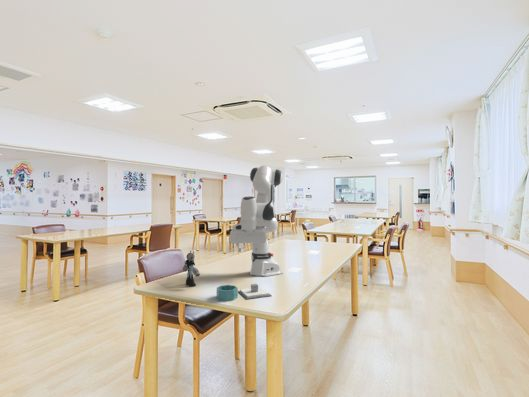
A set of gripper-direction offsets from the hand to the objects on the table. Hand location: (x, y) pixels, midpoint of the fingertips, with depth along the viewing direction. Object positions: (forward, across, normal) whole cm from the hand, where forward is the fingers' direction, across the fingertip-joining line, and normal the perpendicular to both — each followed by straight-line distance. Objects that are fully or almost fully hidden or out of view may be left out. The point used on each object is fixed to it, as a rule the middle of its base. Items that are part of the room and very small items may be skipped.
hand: (248, 251), depth 166 cm
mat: (+22, -3, +4) cm, 23 cm away
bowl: (+22, +12, +6) cm, 26 cm away
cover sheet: (+22, -3, +4) cm, 22 cm away
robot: (+22, +30, -22) cm, 43 cm away
